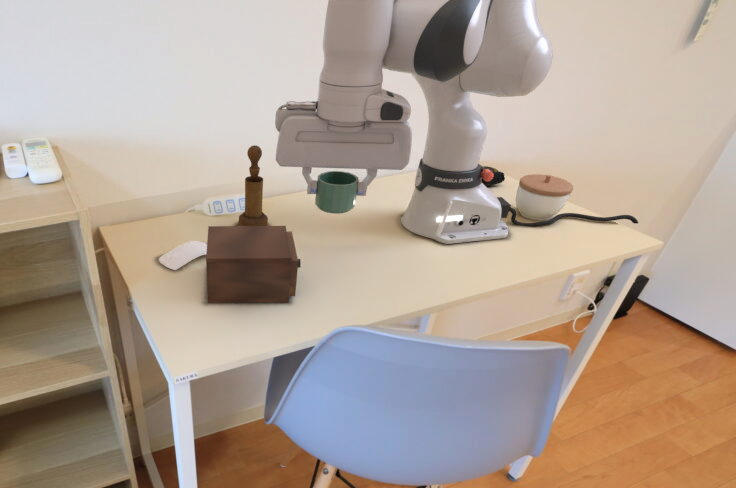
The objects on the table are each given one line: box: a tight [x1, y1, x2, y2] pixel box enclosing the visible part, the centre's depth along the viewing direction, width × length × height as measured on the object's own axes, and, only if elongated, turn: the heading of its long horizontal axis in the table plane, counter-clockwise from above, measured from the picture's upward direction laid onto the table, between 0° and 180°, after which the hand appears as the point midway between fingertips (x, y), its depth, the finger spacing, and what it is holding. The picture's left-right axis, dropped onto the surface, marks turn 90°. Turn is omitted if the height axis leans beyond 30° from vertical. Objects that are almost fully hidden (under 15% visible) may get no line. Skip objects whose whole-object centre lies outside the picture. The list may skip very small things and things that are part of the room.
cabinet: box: [205, 225, 292, 304], centre depth 96 cm, size 15×13×9 cm
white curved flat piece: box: [158, 240, 207, 271], centre depth 107 cm, size 7×12×2 cm, turn 128°
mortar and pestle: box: [238, 144, 269, 226], centre depth 113 cm, size 7×6×18 cm
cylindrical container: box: [314, 170, 360, 215], centre depth 84 cm, size 6×6×5 cm
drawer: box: [287, 230, 302, 297], centre depth 96 cm, size 15×11×7 cm
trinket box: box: [515, 173, 574, 221], centre depth 118 cm, size 11×11×9 cm
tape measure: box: [482, 165, 506, 187], centre depth 135 cm, size 7×7×4 cm
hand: (336, 193), depth 84 cm, fingers closed on cylindrical container, 6 cm apart
